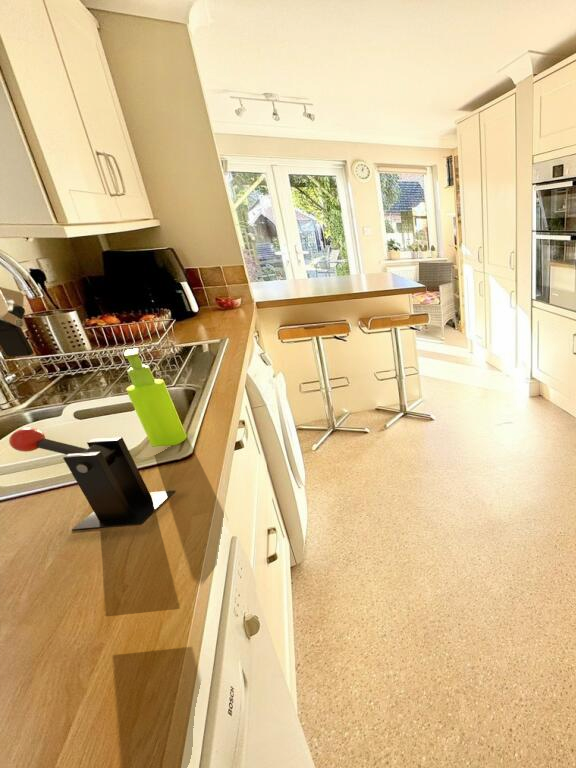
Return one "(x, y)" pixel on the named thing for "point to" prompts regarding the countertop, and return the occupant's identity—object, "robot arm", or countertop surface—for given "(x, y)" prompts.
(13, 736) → the countertop surface
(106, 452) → the lever
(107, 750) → the countertop surface
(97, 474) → the bracket
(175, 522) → the countertop surface
